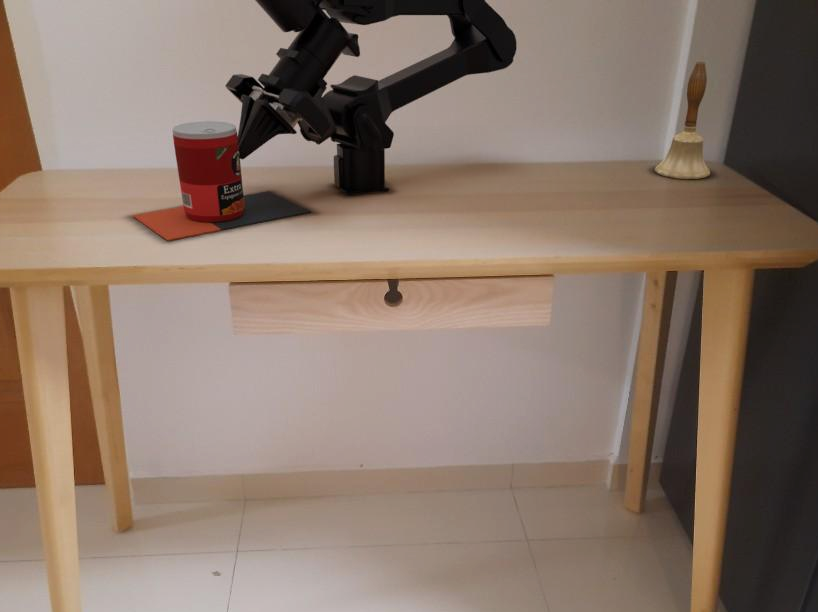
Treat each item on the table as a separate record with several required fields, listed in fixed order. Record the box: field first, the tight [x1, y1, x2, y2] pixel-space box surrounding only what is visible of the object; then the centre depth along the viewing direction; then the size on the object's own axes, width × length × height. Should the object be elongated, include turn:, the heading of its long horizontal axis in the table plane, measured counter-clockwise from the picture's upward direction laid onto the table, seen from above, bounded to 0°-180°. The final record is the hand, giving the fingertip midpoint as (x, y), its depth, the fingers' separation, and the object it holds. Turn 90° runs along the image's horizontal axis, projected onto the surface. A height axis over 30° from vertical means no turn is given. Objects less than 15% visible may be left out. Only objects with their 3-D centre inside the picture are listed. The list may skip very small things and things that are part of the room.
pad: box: [132, 206, 222, 242], centre depth 99 cm, size 7×12×1 cm, turn 36°
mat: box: [210, 190, 312, 231], centre depth 104 cm, size 13×12×1 cm
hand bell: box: [654, 61, 711, 180], centre depth 117 cm, size 8×8×16 cm
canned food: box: [172, 120, 245, 222], centre depth 99 cm, size 8×8×11 cm
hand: (238, 157), depth 100 cm, fingers closed, pressing on canned food
